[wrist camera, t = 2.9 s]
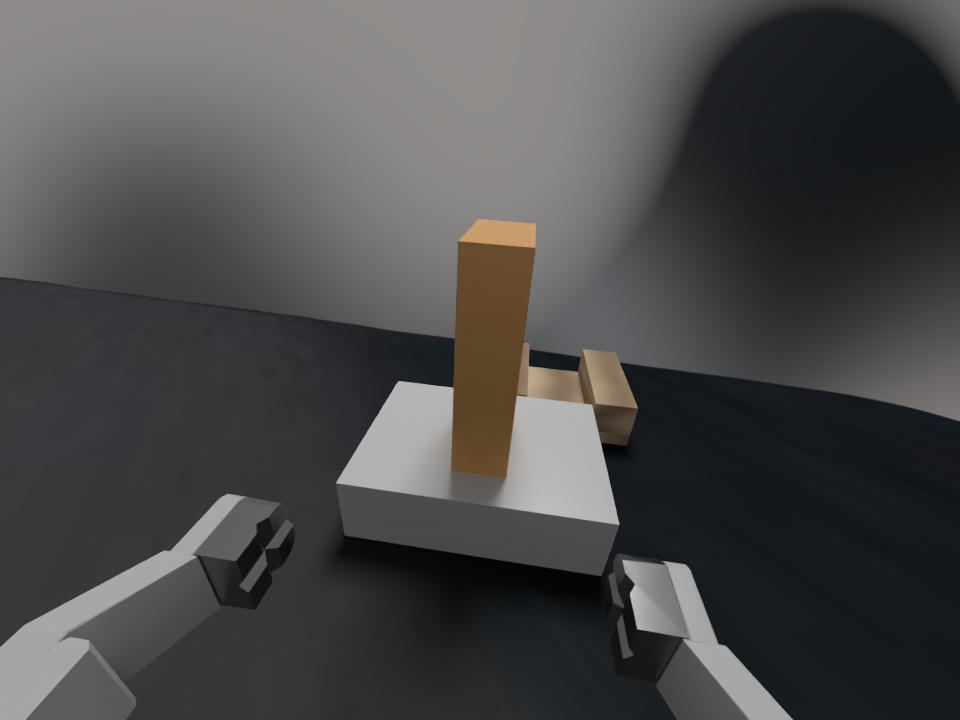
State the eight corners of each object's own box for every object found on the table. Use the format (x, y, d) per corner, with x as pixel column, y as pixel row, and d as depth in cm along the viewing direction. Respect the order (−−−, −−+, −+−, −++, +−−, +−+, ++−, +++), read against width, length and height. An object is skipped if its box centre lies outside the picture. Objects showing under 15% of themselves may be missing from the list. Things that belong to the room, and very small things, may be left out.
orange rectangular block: (451, 469, 21) (458, 241, 15) (468, 406, 26) (478, 219, 20) (506, 477, 20) (535, 248, 15) (512, 411, 26) (535, 223, 20)
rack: (484, 427, 30) (487, 390, 29) (495, 371, 38) (497, 339, 36) (626, 445, 29) (638, 408, 28) (607, 384, 37) (615, 352, 36)
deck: (344, 535, 21) (335, 483, 19) (400, 424, 30) (398, 381, 28) (601, 576, 20) (619, 524, 18) (581, 448, 29) (592, 404, 27)
